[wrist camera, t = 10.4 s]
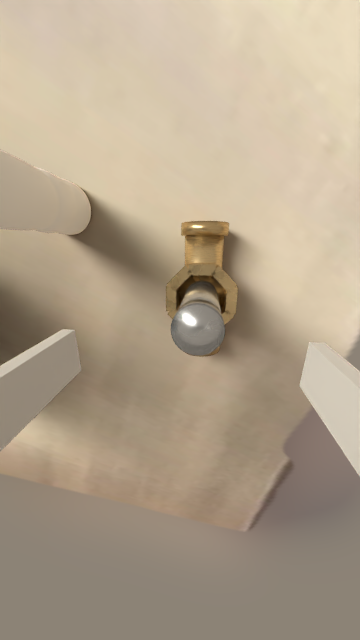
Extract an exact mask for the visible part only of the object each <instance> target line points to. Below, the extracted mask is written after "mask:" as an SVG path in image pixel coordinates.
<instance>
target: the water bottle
mask: <svg viewBox="0 0 360 640" xmlns="http://www.w3.org/2000/svg"><path fill="white" fill-rule="evenodd" d="M90 218H91V207H90V203H89V200H88V198H87V196H86V194H85V193H84V191H83V190H82V189H81V188H80V187H79V186H78V185H76V184H74V183H73V182H71V181H68V180H66V179H63V178H60V177H57V176H56V175H54V174H52V173H51V172H49V171H46V170H44V169H41V168H37V167H34V166H32V165H31V164H29V163H27V162H25V161H23V160H21V159H20V158H18V157H15V156H13V155H11V154H9V153H7V152H5V151H3V150H1V149H0V229H9V230H36V231H39V232H45V233H60V234H67V235H74V234H78V233H80V232H82V231H83V230H84V229H85V228H86V227H87V226H88V224H89V221H90Z"/></svg>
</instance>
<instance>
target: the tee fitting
mask: <svg viewBox="0 0 360 640" xmlns="http://www.w3.org/2000/svg"><path fill="white" fill-rule="evenodd" d="M228 232H229V223H228V222H220V221H192V222H184V223H182V225H181V235H182V236H185V266H184V267H183V268H182V269H181V270H180V271H179V272H178V273H177V274H176V275H175V276H174V277H173V278H172V279H171V280H170V281H169V282H168V283H167V284H168V285H167V286H166V311H169V312H168V315H169V316H170V317H171V318H172V319H173V318H174V316H175V314H176V312H177V310H178V309H179V307H180V305H181V302H182V300H183V298H184V296H185V293H186V291H187V289H188V287H189V286H190V285H191V284H192V283H194V282H196V281H201V280H202V281H207V282H210V283H211V284H213V285H214V287H215V288H216V290H217V293H218V298H219V304H220V309H221V314H222V316H223V320H224V325H225V324H226V323H227V322H229V321H230V320H231V319H232V318H234V316H233V314H236V304H237V294H238V288H237V287H236V286H237V285H236V284H235V282H234V281H233V280H232V279H231V278H230V277H229V276H228V274H227V273H226V272H225V271H224V270H223V269H222V260H223V245H224V236H228ZM219 350H220V346H219V347H218V348H217V349H216V350H214V351H213V352H211V353H209V354H206V355H193V356H211V355H214V354H216V353H218V352H219ZM183 352H184V351H183ZM185 353H186V352H185ZM187 354H188V353H187ZM189 355H191V354H189Z"/></svg>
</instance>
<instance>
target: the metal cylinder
mask: <svg viewBox="0 0 360 640" xmlns="http://www.w3.org/2000/svg"><path fill="white" fill-rule="evenodd" d="M171 335H172V338H173V341H174V342H175V344H176V345H177V346H178V348H180V349H181V350H182V351H184V352H186V353H188V354H191V355H206V354H209V353H211V352H213V351H214V350H216V349H217V348H218V347H219V346H220V344H221V343H222V341H223V339H224V336H225V325H224V320H223V316H222V314H221V309H220V304H219V298H218V293H217V290H216V288H215V287H214V285H213V284H211V283H210V282H207V281H202V280H201V281H196V282H194V283H192V284H191V285H190V286H189V287H188V289H187V291H186V293H185V296H184V298H183V300H182V302H181V305H180V307H179V309H178V310H177V312H176V314H175V316H174V318H173V320H172V323H171Z"/></svg>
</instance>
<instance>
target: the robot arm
mask: <svg viewBox="0 0 360 640" xmlns="http://www.w3.org/2000/svg"><path fill="white" fill-rule="evenodd" d="M80 371H81V364H80V358H79V352H78V346H77V340H76V334H75V330H66V329H62V330H61V331H59V332H57V333H55V334H54V335H52V336H50V337H49V338H47V339H45V340H43V341H42V342H40V343H38V344H37V345H35V346H33V347H31V348H30V349H28V350H26V351H25V352H23V353H21V354H19V355H18V356H16V357H14V358H13V359H11V360H9V361H7V362H6V363H4V364H2V365H1V366H0V451H1V450H2V449H3V448H4V447H5V446H6V445H7V444H8V443H9V442H10V441H11V440H12V439H13V438H14V437H15V436H16V435H17V434H18V433H19V432H20V431H21V430H22V429H23V428H24V427H25V426H26V425H27V424H28V423H29V422H30V421H31V420H32V419H33V418H34V417H35V416H36V415H37V414H38V413H39V412H40V411H41V410H42V409H43V408H44V407H45V406H46V405H47V404H48V403H49V402H50V401H51V400H52V399H53V398H54V397H55V396H56V395H57V394H58V393H59V392H60V391H61V390H62V389H63V388H64V387H65V386H66V385H67V384H68V383H69V382H70V381H71V380H72V379H73V378H74V377H75V376H76V375H77V374H78V373H79V372H80ZM299 386H300V388H301V389H302V391H303V392H304V394H305V395H306V397H307V398H308V400H309V401H310V403H311V404H312V406H313V407H314V409H315V410H316V412H317V413H318V415H319V416H320V418H321V419H322V421H323V422H324V424H325V425H326V427H327V428H328V430H329V431H330V433H331V434H332V436H333V437H334V439H335V440H336V442H337V443H338V445H339V446H340V448H341V449H342V451H343V452H344V454H345V455H346V457H347V458H348V460H349V461H350V463H351V464H352V466H353V467H354V469H355V470H356V472H357V473H358V475H359V476H360V371H359V370H358V369H356V368H355V367H354V366H353V365H351V364H350V363H349V362H348V361H347V360H345V359H344V358H343V357H342V356H340V355H339V354H338V353H337V352H335V351H334V350H333V349H332V348H331V347H329V346H328V345H327V344H326V343H319V342H309V345H308V350H307V354H306V359H305V363H304V368H303V372H302V376H301V381H300V385H299Z"/></svg>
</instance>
